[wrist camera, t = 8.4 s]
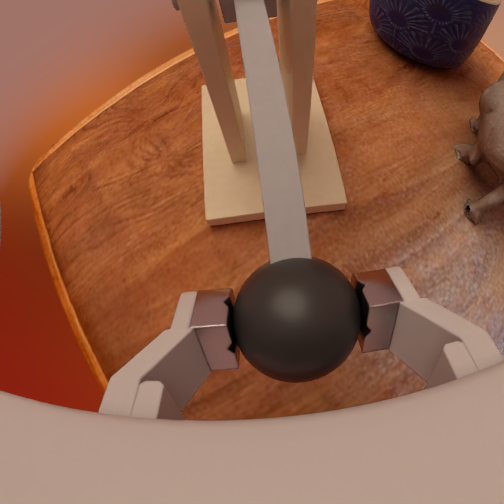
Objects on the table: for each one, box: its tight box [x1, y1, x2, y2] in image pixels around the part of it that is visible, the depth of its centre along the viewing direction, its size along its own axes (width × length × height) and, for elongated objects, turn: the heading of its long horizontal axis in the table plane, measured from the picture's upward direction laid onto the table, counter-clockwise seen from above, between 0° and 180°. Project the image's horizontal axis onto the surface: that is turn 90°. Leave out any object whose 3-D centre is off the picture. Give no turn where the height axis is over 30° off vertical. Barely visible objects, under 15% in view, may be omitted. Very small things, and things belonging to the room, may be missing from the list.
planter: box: [369, 0, 501, 68], centre depth 18 cm, size 12×12×11 cm
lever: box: [219, 0, 361, 383], centre depth 9 cm, size 16×4×4 cm, turn 6°
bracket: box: [172, 0, 347, 226], centre depth 14 cm, size 12×9×15 cm
